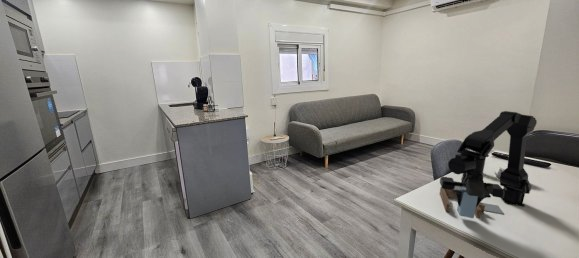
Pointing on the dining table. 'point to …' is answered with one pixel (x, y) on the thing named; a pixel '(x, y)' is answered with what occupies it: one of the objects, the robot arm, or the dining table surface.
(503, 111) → the robot arm
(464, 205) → the slate block
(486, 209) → the grey mat
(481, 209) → the brown angular open frame
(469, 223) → the dining table surface
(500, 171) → the chubby cartoon animal
